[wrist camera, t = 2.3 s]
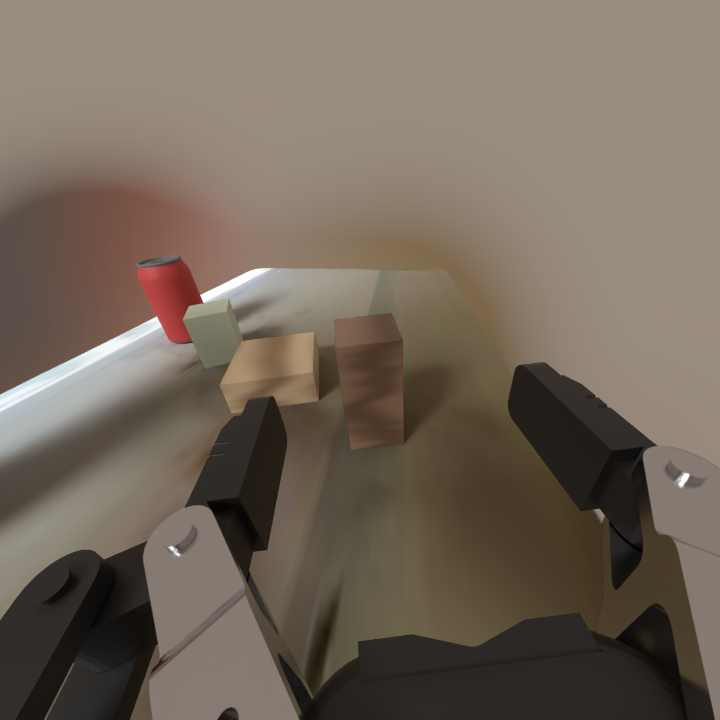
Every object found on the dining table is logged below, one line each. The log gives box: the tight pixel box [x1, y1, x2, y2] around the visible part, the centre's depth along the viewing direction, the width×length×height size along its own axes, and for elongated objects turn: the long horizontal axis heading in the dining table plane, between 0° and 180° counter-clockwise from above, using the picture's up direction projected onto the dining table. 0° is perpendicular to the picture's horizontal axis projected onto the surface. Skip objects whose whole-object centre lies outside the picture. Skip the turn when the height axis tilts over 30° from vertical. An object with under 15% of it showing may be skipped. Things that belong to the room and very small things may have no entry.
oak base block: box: [219, 331, 319, 413], centre depth 33 cm, size 9×9×4 cm
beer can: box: [136, 255, 203, 343], centre depth 44 cm, size 7×7×12 cm
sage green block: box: [183, 299, 243, 369], centre depth 38 cm, size 5×5×7 cm
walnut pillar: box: [335, 313, 404, 450], centre depth 24 cm, size 4×4×10 cm
